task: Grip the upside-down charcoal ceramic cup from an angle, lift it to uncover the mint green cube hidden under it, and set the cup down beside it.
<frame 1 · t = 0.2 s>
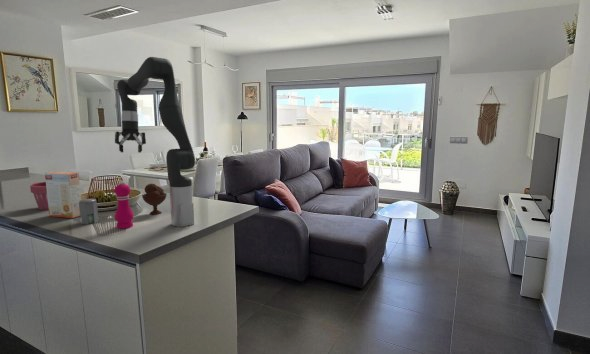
hand: (130, 152, 175), 29 cm above the countertop, tool pointing down, fingers open, 8 cm apart
plant pot: (49, 208, 177), on the countertop
pepper mill: (125, 227, 146), on the countertop
mint green cube: (89, 217, 152), in the charcoal cup
charcoal cup: (89, 222, 152), on the countertop
cracker box: (66, 216, 162), on the countertop
ice cream bowl: (155, 213, 167), on the countertop
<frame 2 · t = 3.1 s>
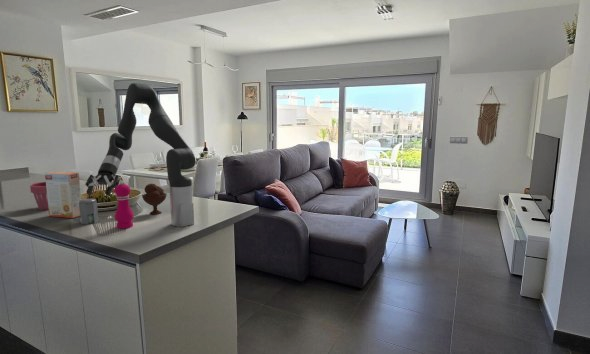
hand: (97, 194, 158), 11 cm above the countertop, tool tilted 45°, fingers open, 8 cm apart
nothing on the countertop moved.
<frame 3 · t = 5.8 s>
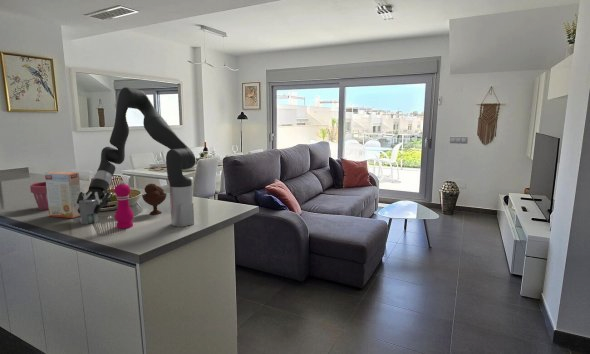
hand: (87, 213, 150), 4 cm above the countertop, tool tilted 45°, fingers closed on charcoal cup, 6 cm apart
charcoal cup: (89, 222, 152), on the countertop, touching gripper
everything else where it was.
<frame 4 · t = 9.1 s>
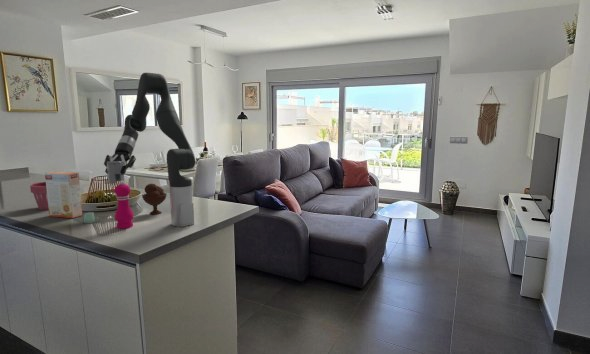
hand: (114, 173, 161), 20 cm above the countertop, tool tilted 45°, fingers closed on charcoal cup, 6 cm apart
charcoal cup: (116, 182, 163), point 16 cm above the countertop, touching gripper
everything else where it was.
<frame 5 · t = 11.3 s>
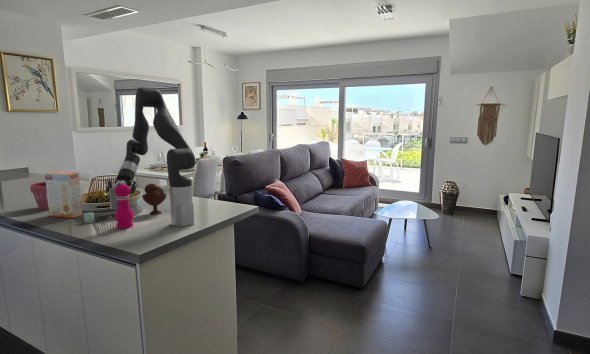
hand: (116, 200, 163), 7 cm above the countertop, tool tilted 45°, fingers closed on charcoal cup, 6 cm apart
charcoal cup: (118, 208, 165), point 3 cm above the countertop, touching gripper
everything else where it was.
when the fingers open (6 cm above the countertop, at t = 12.7 s): charcoal cup drops 1 cm, on the countertop.
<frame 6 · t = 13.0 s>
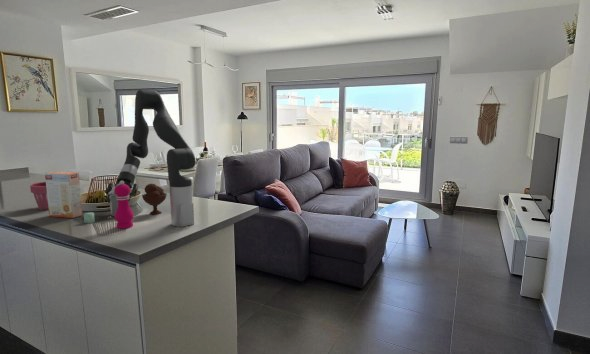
hand: (117, 202, 163), 6 cm above the countertop, tool tilted 45°, fingers open, 8 cm apart
charcoal cup: (118, 214, 165), on the countertop
everything else where it was.
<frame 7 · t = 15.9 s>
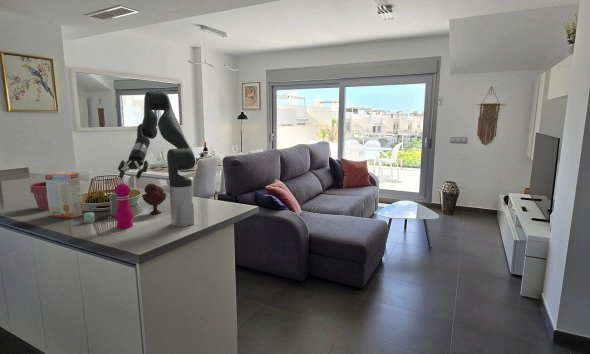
hand: (129, 177, 175), 16 cm above the countertop, tool tilted 45°, fingers open, 8 cm apart
nothing on the countertop moved.
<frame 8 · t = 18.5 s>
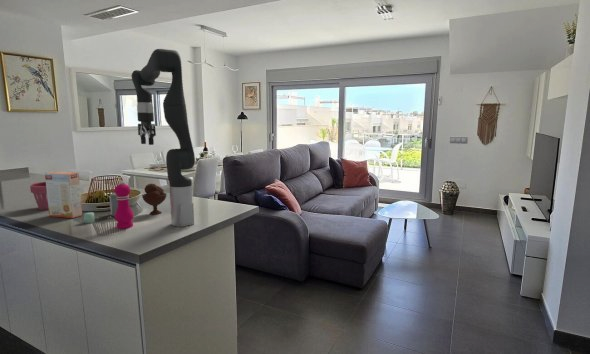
hand: (147, 144, 174), 33 cm above the countertop, tool pointing down, fingers open, 8 cm apart
nothing on the countertop moved.
at the end: charcoal cup inside the target area (0.1 cm from its centre), on the countertop; charcoal cup tilted 0°; mint green cube moved 0.1 cm from its start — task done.
